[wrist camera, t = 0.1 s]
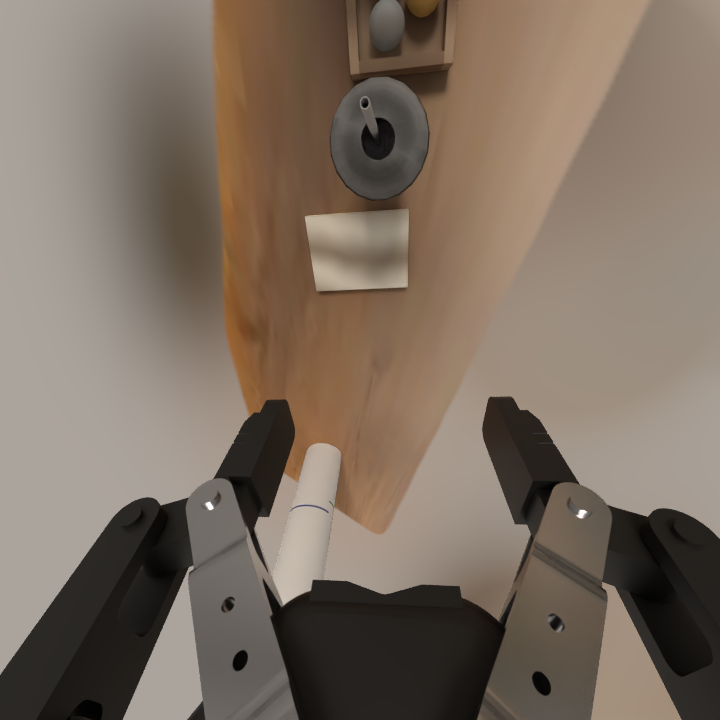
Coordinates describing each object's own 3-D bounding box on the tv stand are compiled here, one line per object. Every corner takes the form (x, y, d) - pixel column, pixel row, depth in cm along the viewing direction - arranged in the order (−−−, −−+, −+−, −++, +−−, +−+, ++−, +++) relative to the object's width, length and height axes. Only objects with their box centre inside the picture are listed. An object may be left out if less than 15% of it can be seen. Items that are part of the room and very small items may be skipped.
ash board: (306, 215, 35) (304, 216, 34) (408, 208, 33) (408, 209, 33) (318, 288, 40) (316, 291, 39) (406, 284, 38) (407, 287, 38)
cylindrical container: (322, 437, 56) (285, 597, 35) (348, 456, 58) (329, 615, 37) (299, 453, 59) (253, 608, 38) (325, 470, 61) (295, 625, 41)
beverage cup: (366, 204, 34) (348, 238, 17) (333, 135, 30) (271, 92, 14) (425, 168, 31) (473, 167, 15) (397, 89, 28) (417, -30, 11)
